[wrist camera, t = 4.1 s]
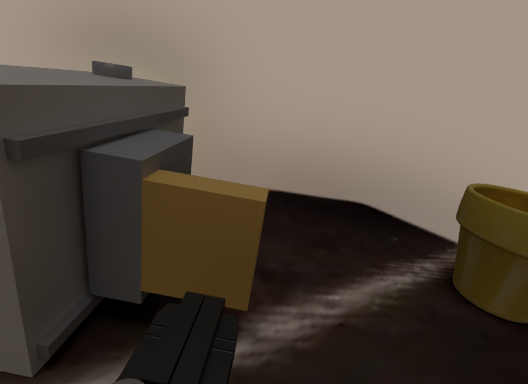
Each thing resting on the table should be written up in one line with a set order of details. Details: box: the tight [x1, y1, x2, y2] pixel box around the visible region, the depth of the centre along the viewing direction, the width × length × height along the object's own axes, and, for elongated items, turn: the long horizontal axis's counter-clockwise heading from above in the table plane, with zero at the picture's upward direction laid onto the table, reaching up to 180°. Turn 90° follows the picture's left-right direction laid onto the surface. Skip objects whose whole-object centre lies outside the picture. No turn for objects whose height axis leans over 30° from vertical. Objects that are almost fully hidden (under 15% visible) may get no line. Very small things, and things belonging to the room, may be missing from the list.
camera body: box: [0, 61, 189, 377], centre depth 23 cm, size 9×23×15 cm, turn 174°
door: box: [80, 129, 269, 311], centre depth 20 cm, size 10×8×9 cm
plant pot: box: [453, 184, 528, 323], centre depth 26 cm, size 10×10×10 cm
